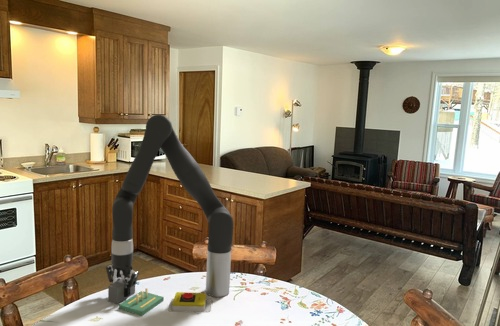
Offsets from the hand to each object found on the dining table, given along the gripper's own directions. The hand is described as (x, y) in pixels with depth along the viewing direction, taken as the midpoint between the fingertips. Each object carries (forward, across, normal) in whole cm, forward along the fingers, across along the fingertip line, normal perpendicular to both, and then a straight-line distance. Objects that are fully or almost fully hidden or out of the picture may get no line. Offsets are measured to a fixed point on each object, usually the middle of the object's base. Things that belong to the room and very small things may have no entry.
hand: (121, 294), depth 139 cm
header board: (+1, -10, +1) cm, 10 cm away
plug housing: (+1, 0, 0) cm, 1 cm away
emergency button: (+2, -25, -7) cm, 26 cm away
